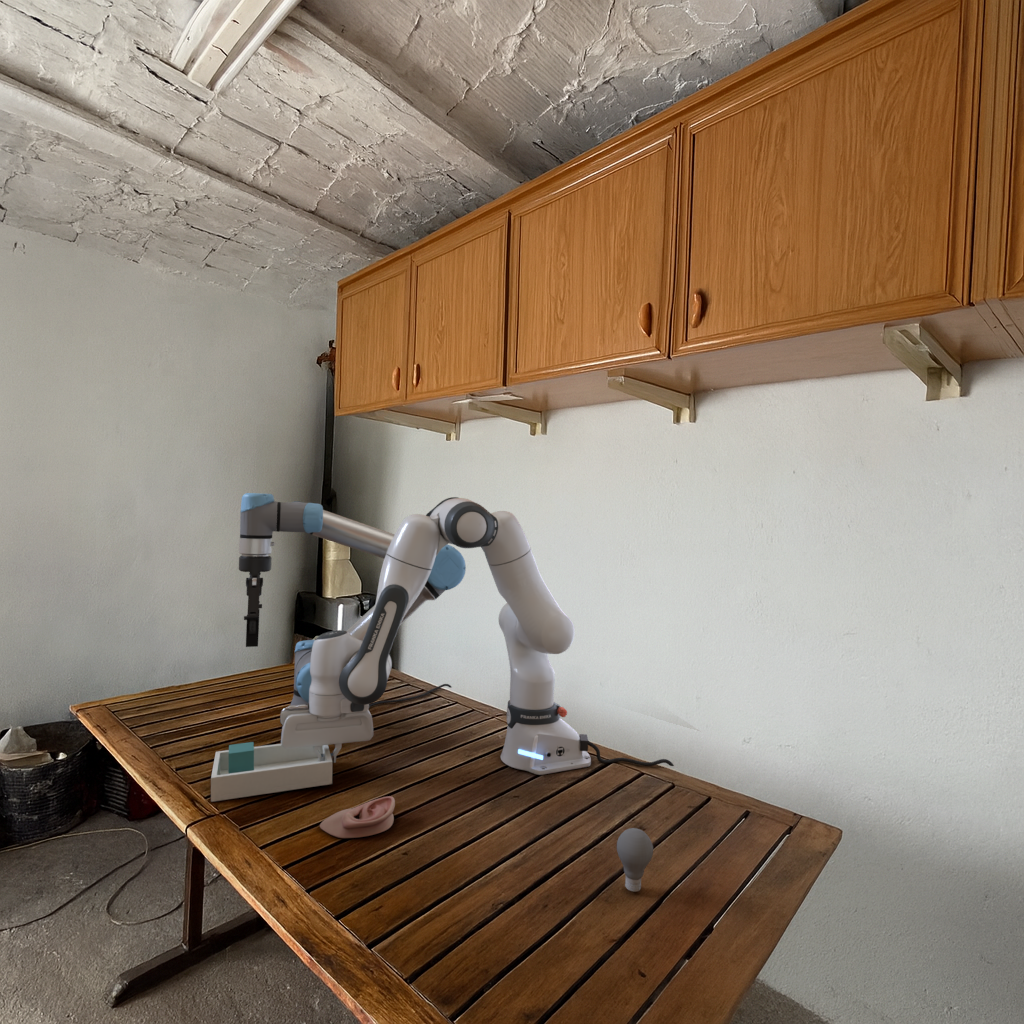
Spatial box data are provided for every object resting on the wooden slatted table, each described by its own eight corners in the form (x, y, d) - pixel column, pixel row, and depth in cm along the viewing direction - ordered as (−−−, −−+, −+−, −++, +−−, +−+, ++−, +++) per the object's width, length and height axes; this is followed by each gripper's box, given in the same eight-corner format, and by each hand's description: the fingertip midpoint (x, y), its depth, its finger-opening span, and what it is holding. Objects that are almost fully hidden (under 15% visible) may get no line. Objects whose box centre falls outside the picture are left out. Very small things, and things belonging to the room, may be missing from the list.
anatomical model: (312, 812, 119) (340, 786, 130) (311, 833, 119) (340, 805, 130) (378, 823, 116) (401, 795, 127) (377, 844, 116) (401, 814, 127)
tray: (210, 802, 130) (211, 777, 129) (215, 773, 143) (215, 751, 142) (332, 784, 138) (332, 761, 138) (326, 758, 151) (326, 738, 151)
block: (228, 776, 139) (229, 744, 139) (253, 772, 141) (253, 741, 141) (228, 786, 134) (228, 753, 134) (253, 782, 136) (254, 750, 136)
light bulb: (610, 878, 109) (613, 821, 108) (645, 878, 109) (647, 821, 109) (619, 901, 103) (622, 840, 103) (655, 900, 103) (658, 839, 103)
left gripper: (272, 560, 147) (268, 651, 147) (271, 550, 170) (268, 629, 171) (237, 560, 144) (233, 652, 145) (240, 550, 168) (238, 630, 168)
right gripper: (280, 710, 138) (278, 773, 138) (375, 703, 145) (373, 763, 145) (280, 701, 143) (278, 762, 144) (371, 694, 151) (369, 752, 151)
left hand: (252, 640), depth 158 cm, fingers open, 13 cm apart
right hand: (326, 762), depth 145 cm, fingers closed on tray
